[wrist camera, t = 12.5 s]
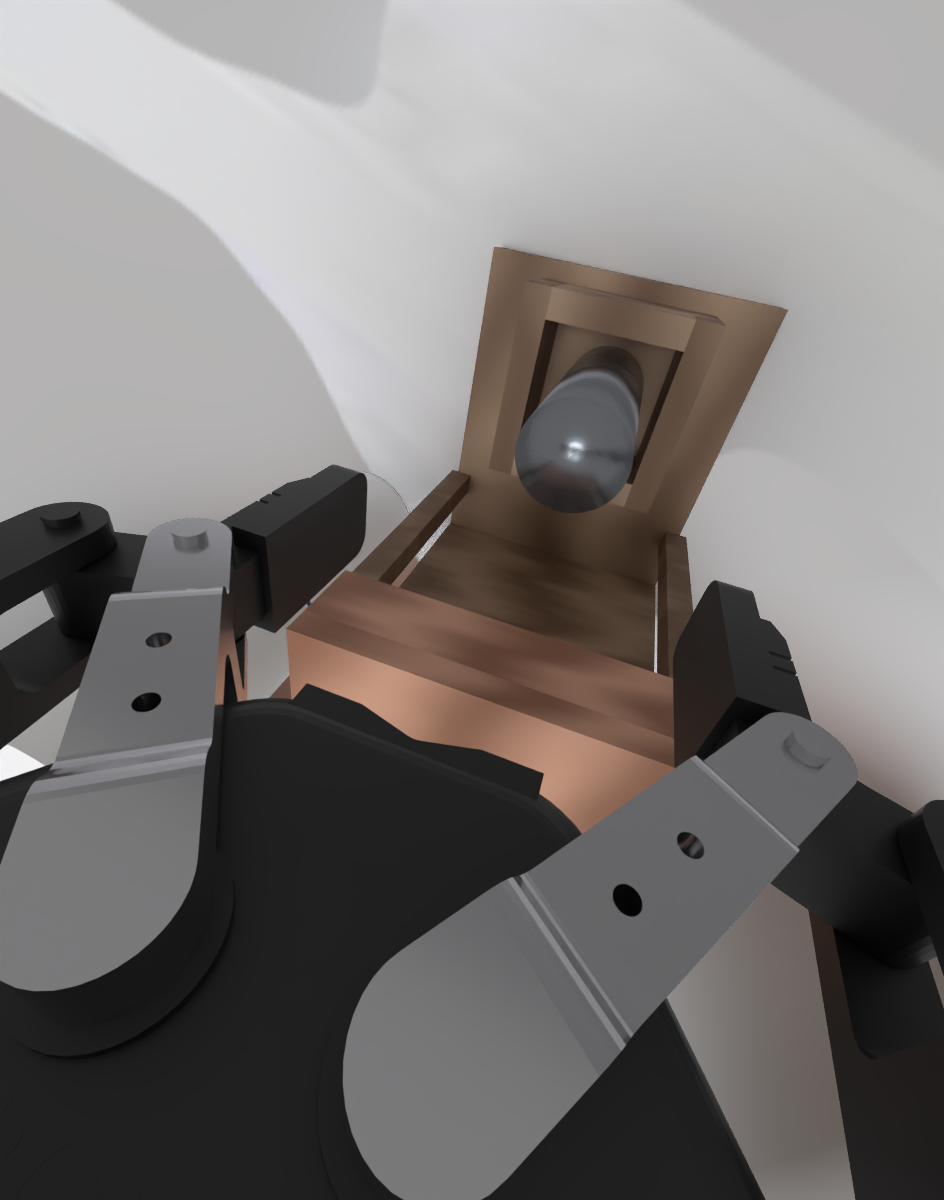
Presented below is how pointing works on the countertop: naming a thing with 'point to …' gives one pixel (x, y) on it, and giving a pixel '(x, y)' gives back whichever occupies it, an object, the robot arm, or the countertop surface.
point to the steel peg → (583, 433)
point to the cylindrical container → (263, 646)
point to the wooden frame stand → (549, 546)
